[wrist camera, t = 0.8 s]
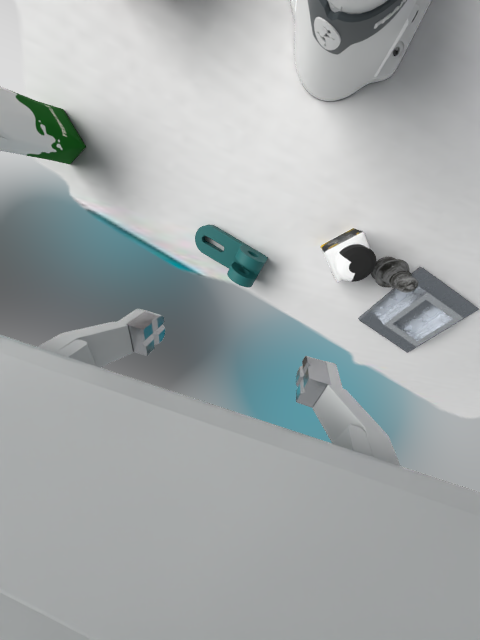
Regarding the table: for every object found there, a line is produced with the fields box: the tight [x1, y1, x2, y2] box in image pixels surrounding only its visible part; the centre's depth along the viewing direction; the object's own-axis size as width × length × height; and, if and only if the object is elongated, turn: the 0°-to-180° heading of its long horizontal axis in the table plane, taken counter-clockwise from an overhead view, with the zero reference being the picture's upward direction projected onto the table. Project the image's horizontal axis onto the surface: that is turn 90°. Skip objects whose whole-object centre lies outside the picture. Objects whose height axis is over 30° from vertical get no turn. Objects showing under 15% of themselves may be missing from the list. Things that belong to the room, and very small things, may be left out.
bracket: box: [195, 225, 268, 287], centre depth 45 cm, size 18×7×8 cm, turn 63°
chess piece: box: [371, 257, 418, 293], centre depth 37 cm, size 6×6×12 cm
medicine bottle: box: [321, 228, 376, 282], centre depth 38 cm, size 7×7×12 cm
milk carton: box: [0, 87, 86, 164], centre depth 36 cm, size 9×9×20 cm
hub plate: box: [358, 267, 479, 353], centre depth 44 cm, size 16×16×4 cm
